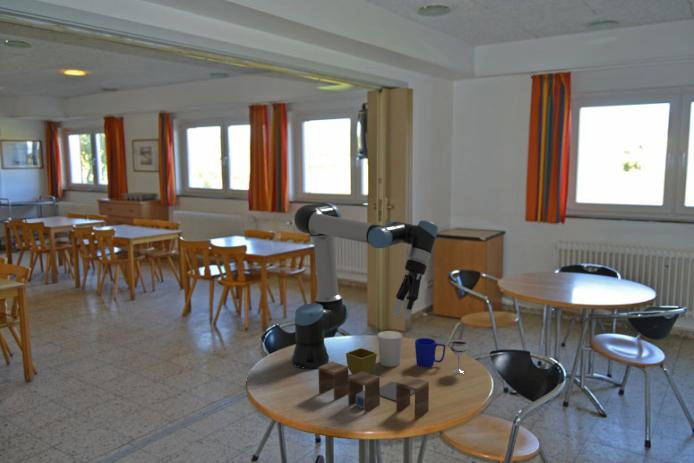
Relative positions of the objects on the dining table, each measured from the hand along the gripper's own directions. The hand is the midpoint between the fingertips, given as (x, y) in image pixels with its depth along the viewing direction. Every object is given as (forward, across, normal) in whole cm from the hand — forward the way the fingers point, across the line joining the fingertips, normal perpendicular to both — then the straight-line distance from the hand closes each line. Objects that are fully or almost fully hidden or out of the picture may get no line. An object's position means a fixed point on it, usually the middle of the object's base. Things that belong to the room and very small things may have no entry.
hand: (400, 317), depth 194 cm
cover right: (+28, -14, -10) cm, 33 cm away
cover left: (+33, +4, +14) cm, 36 cm away
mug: (+14, +22, -24) cm, 35 cm away
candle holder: (+18, +28, -9) cm, 34 cm away
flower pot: (+25, +18, +3) cm, 31 cm away
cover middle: (+32, -6, +5) cm, 33 cm away
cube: (+32, -6, +5) cm, 33 cm away
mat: (+26, +1, -7) cm, 26 cm away
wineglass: (+12, +14, -33) cm, 38 cm away
